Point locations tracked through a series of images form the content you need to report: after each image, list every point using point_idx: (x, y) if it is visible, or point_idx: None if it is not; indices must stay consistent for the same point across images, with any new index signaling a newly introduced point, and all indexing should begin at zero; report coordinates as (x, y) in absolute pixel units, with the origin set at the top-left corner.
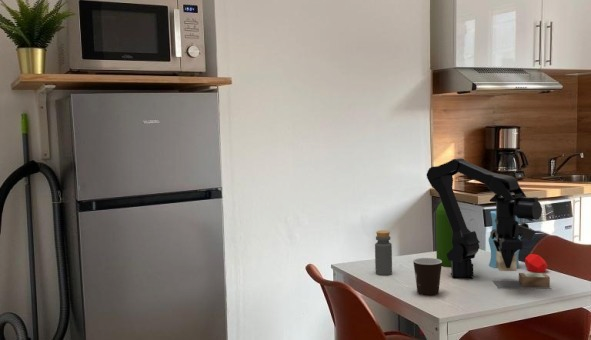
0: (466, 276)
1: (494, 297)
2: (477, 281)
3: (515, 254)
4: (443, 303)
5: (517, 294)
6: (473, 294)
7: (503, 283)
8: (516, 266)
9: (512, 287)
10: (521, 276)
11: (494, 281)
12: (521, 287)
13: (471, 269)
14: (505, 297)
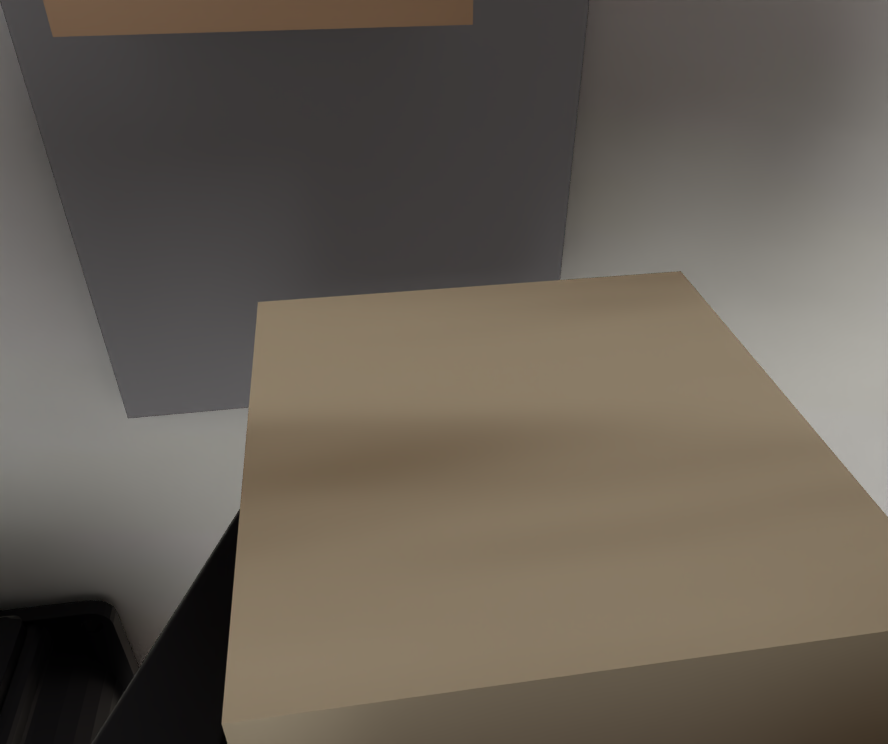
0: (94, 674)
1: (834, 421)
2: (167, 551)
3: (862, 643)
4: None
5: (790, 151)
6: None
7: (276, 284)
8: (730, 334)
9: (506, 182)
10: (352, 24)
11: (183, 392)
12: (507, 25)
13: (6, 721)
14: (869, 317)
